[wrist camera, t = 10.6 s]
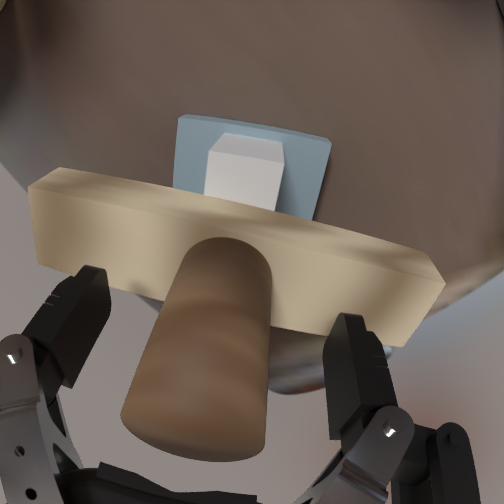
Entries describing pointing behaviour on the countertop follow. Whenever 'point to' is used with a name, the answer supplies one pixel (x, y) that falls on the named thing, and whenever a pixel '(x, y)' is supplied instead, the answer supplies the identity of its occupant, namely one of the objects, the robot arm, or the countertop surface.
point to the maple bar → (220, 296)
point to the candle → (2, 4)
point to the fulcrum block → (250, 163)
